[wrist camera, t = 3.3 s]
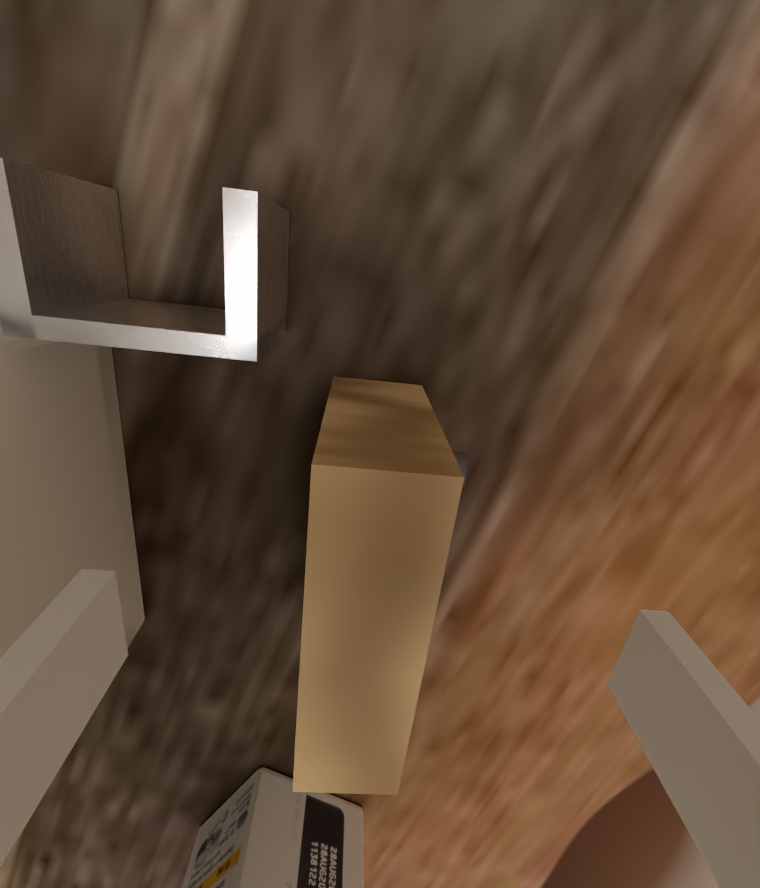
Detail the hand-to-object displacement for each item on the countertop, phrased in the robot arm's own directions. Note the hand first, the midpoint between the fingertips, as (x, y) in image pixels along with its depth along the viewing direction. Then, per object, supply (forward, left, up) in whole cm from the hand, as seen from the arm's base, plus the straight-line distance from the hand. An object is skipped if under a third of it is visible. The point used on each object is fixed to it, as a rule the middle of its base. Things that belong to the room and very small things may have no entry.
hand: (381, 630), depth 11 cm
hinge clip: (-7, +8, -8) cm, 13 cm away
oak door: (0, -2, -8) cm, 9 cm away
